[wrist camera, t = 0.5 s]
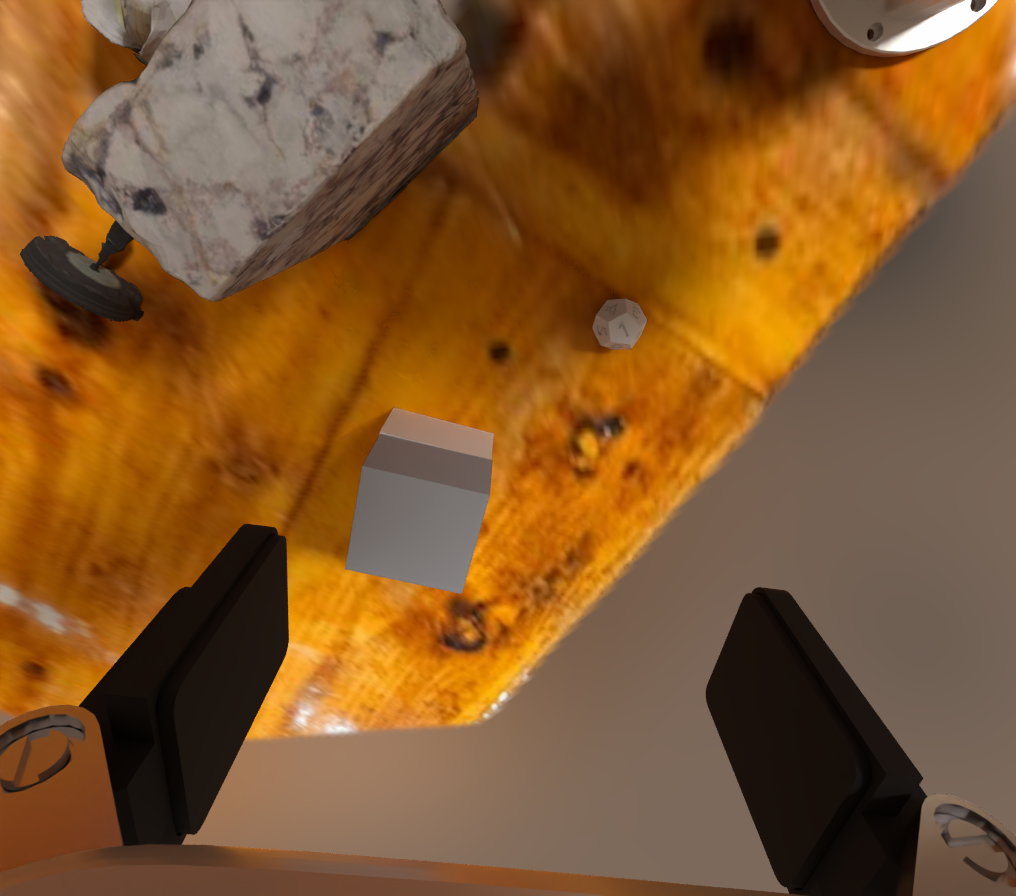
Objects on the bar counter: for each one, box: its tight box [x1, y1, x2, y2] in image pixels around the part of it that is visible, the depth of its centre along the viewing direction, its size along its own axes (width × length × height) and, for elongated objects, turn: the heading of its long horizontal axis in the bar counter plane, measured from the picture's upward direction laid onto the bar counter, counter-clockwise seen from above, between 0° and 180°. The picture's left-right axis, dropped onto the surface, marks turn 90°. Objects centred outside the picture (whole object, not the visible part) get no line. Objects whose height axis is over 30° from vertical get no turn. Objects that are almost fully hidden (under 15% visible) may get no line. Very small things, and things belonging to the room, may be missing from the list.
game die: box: [592, 298, 647, 349], centre depth 37 cm, size 4×4×3 cm
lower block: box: [379, 407, 494, 460], centre depth 42 cm, size 8×8×5 cm
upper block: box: [345, 434, 492, 594], centre depth 37 cm, size 8×8×5 cm
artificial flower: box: [20, 0, 192, 322], centre depth 31 cm, size 9×22×10 cm, turn 138°
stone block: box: [61, 0, 479, 301], centre depth 25 cm, size 13×7×20 cm, turn 134°
